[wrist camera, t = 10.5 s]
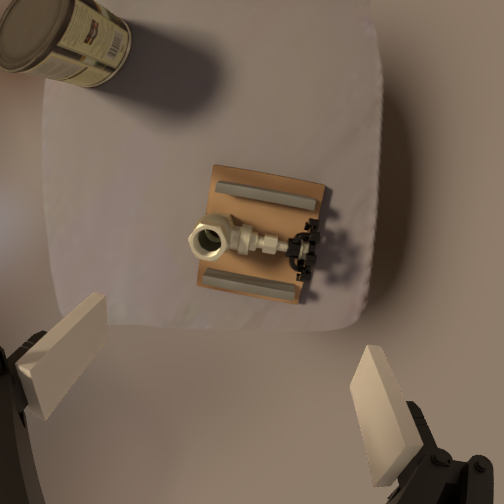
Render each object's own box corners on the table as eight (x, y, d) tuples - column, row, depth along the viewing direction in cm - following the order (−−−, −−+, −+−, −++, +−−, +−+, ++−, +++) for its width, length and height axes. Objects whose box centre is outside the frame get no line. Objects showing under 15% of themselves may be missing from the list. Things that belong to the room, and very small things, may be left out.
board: (215, 164, 35) (208, 165, 31) (323, 184, 35) (328, 188, 31) (198, 281, 39) (191, 294, 35) (297, 300, 39) (298, 314, 35)
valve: (197, 252, 37) (302, 270, 36) (182, 272, 30) (308, 295, 30) (204, 194, 35) (315, 213, 34) (189, 203, 28) (324, 227, 28)
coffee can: (63, 34, 30) (-5, 8, 17) (129, 5, 29) (71, -42, 16) (67, 99, 33) (-9, 89, 20) (136, 72, 32) (70, 41, 19)
